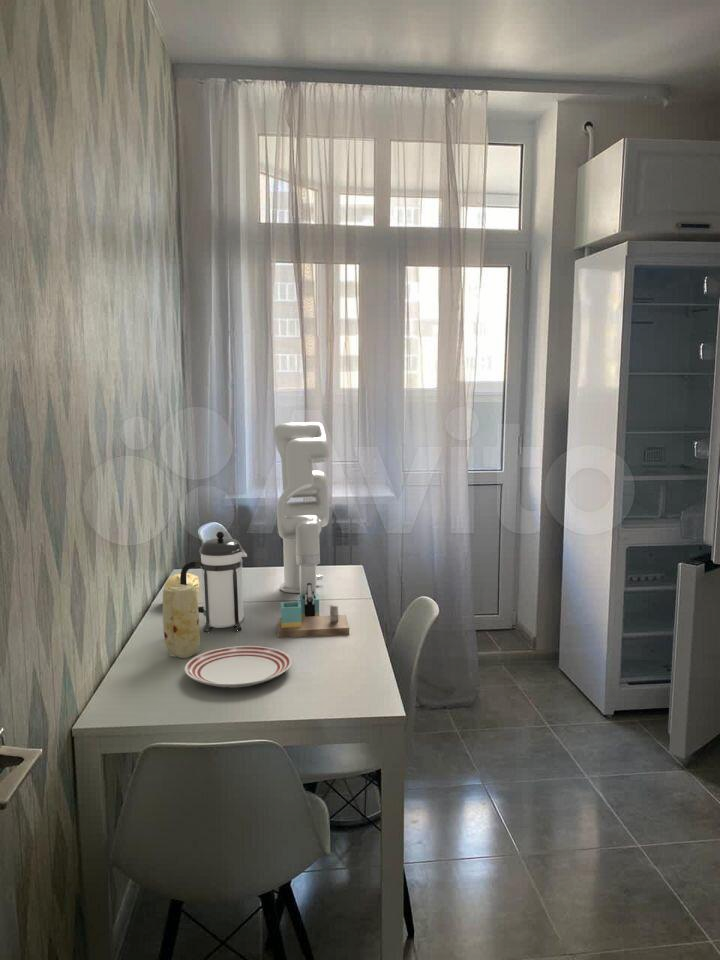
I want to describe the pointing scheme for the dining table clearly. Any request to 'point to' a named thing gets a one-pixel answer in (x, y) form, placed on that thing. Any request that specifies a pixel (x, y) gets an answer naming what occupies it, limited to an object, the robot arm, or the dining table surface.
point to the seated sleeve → (291, 614)
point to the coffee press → (220, 582)
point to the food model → (181, 620)
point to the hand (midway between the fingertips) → (309, 612)
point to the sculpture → (190, 579)
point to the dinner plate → (238, 666)
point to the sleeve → (316, 602)
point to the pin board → (317, 625)
